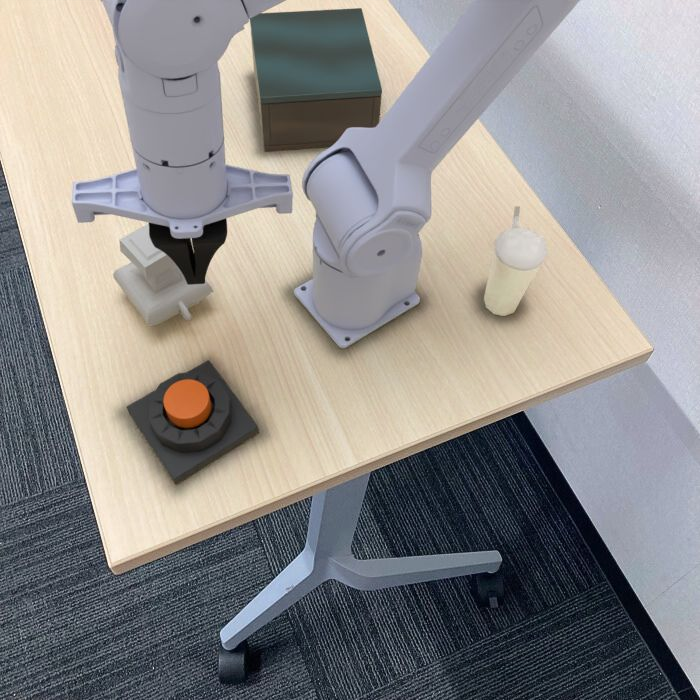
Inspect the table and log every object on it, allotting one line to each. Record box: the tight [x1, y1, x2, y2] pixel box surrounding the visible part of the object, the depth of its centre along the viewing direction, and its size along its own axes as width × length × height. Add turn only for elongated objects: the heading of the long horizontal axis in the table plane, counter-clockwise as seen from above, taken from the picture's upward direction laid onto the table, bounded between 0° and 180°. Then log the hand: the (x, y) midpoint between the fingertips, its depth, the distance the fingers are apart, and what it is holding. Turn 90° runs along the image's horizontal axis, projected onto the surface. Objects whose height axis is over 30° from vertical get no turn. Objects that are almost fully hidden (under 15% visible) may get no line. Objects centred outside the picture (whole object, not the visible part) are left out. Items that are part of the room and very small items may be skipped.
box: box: [250, 33, 382, 152], centre depth 80 cm, size 13×13×6 cm
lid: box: [249, 7, 383, 104], centre depth 77 cm, size 13×13×1 cm
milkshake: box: [483, 205, 548, 317], centre depth 65 cm, size 4×5×10 cm
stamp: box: [112, 223, 214, 327], centre depth 64 cm, size 9×7×8 cm
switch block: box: [126, 360, 260, 485], centre depth 59 cm, size 8×8×3 cm
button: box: [163, 379, 212, 428], centre depth 58 cm, size 4×4×2 cm
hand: (195, 274), depth 56 cm, fingers closed
